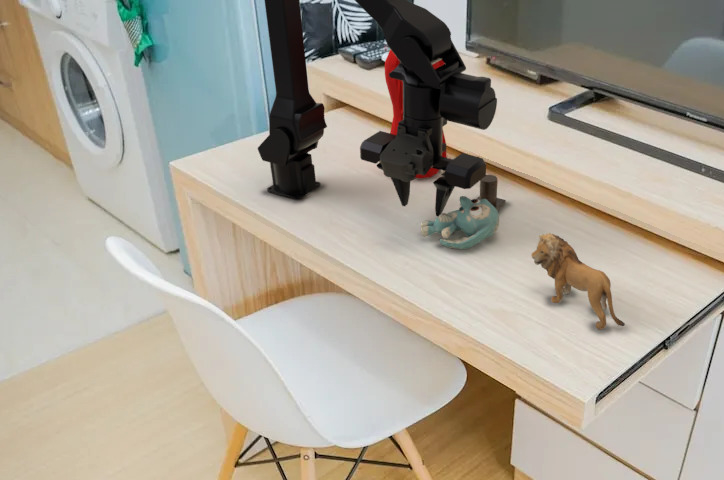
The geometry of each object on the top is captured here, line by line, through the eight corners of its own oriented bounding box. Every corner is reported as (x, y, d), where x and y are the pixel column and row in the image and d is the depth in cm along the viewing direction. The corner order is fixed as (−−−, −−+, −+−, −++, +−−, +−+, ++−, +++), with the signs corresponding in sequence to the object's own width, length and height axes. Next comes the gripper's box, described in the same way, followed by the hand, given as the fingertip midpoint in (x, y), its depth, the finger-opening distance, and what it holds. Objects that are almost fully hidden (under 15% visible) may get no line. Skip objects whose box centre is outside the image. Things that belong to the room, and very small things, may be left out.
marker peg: (469, 208, 128) (470, 180, 125) (481, 198, 131) (482, 170, 128) (494, 215, 127) (495, 186, 124) (505, 204, 130) (507, 176, 127)
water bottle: (377, 177, 136) (368, 28, 122) (406, 154, 145) (401, 11, 130) (425, 188, 134) (422, 36, 119) (452, 163, 142) (452, 19, 127)
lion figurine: (522, 294, 108) (526, 237, 103) (545, 279, 111) (550, 222, 106) (613, 337, 101) (622, 278, 95) (635, 320, 104) (645, 261, 99)
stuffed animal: (414, 189, 121) (491, 174, 121) (424, 229, 126) (498, 215, 125) (415, 222, 113) (498, 207, 112) (425, 264, 117) (505, 250, 117)
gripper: (335, 116, 110) (341, 215, 119) (453, 147, 104) (449, 249, 113) (379, 92, 118) (381, 187, 127) (491, 120, 112) (484, 218, 121)
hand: (421, 210), depth 122 cm, fingers open, 6 cm apart
